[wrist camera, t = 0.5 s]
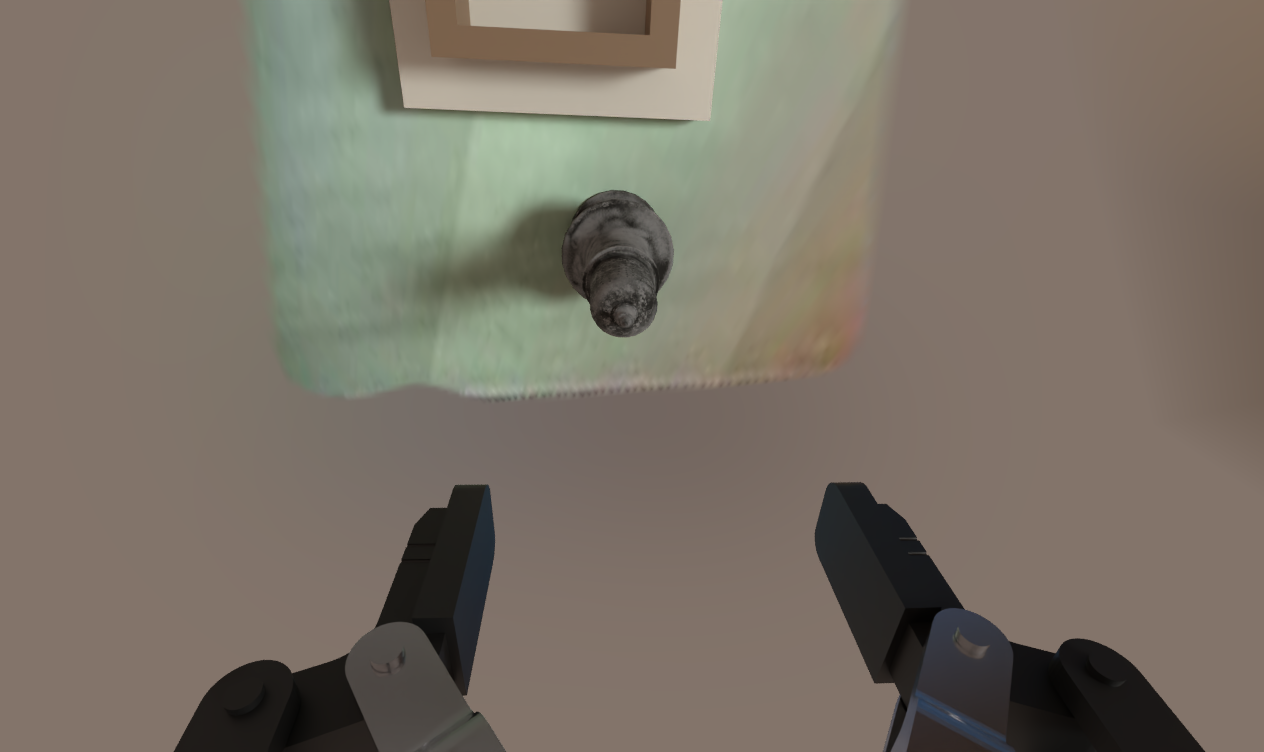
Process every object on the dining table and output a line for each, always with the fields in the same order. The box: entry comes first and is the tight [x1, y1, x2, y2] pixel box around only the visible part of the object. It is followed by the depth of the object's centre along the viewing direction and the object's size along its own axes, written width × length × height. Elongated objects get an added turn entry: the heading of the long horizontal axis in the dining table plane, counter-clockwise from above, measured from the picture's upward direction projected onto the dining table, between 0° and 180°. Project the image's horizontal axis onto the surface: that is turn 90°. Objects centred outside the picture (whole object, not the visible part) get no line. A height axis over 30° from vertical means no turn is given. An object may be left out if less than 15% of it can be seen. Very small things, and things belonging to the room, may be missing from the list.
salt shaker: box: [562, 190, 674, 337], centre depth 28 cm, size 6×6×12 cm
